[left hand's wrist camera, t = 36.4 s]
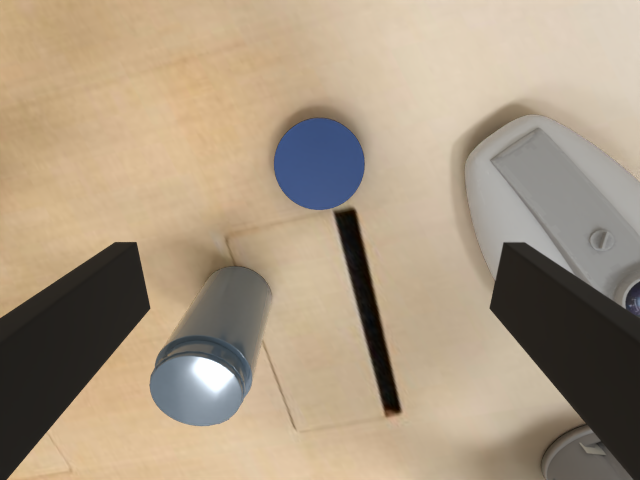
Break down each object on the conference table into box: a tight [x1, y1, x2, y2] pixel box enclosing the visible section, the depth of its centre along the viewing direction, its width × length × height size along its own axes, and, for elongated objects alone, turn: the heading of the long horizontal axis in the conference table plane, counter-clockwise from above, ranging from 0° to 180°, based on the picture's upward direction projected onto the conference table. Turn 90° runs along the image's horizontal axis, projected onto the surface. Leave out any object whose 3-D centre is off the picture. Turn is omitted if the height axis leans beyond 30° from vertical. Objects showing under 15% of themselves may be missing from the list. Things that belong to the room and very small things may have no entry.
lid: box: [274, 118, 365, 210], centre depth 35 cm, size 9×9×2 cm
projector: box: [465, 115, 640, 317], centre depth 32 cm, size 22×23×15 cm
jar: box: [150, 266, 272, 426], centre depth 35 cm, size 8×8×15 cm
